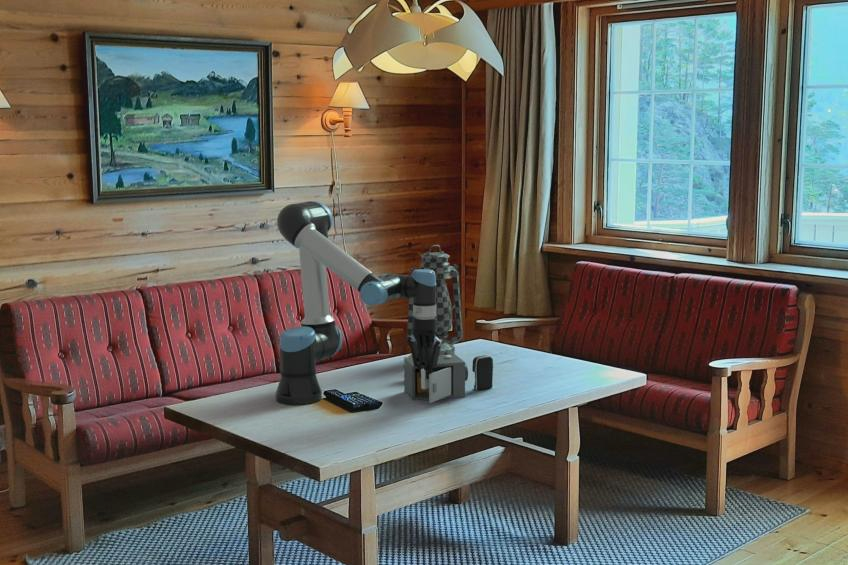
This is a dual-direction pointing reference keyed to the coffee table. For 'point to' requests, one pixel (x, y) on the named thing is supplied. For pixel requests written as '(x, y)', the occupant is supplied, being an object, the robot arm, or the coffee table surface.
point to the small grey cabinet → (444, 361)
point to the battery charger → (483, 372)
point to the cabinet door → (439, 384)
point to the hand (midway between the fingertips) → (425, 388)
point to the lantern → (441, 299)
